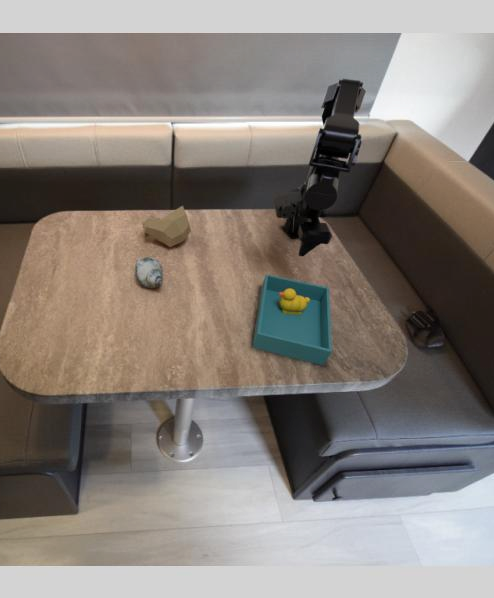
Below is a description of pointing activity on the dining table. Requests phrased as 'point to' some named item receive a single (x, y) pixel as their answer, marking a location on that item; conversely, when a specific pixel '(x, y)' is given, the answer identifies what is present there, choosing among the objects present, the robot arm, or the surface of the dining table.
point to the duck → (292, 302)
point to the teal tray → (294, 322)
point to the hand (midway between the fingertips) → (297, 244)
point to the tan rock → (168, 227)
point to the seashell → (148, 272)
